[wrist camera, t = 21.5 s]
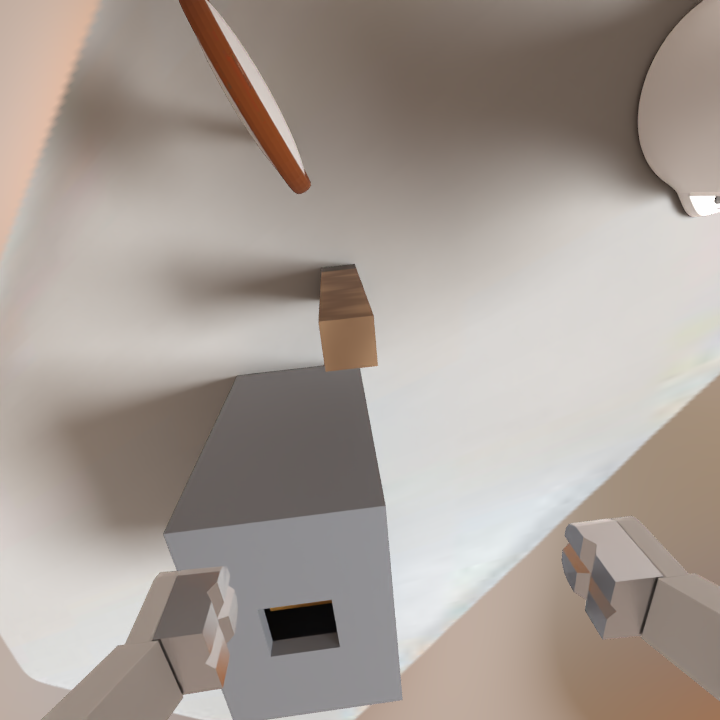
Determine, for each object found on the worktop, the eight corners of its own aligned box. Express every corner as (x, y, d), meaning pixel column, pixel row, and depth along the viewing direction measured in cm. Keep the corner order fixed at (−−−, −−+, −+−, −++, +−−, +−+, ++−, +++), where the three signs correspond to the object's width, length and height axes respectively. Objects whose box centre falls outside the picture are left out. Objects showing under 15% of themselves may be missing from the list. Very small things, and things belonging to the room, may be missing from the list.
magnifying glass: (322, 184, 34) (318, 182, 16) (304, 195, 34) (280, 205, 16) (263, 75, 31) (172, -87, 13) (244, 87, 31) (127, -53, 13)
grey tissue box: (358, 361, 41) (385, 505, 22) (373, 502, 48) (402, 699, 29) (237, 375, 40) (163, 534, 22) (270, 515, 47) (234, 724, 29)
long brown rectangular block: (354, 264, 37) (373, 315, 22) (357, 296, 38) (377, 365, 23) (321, 267, 37) (318, 321, 22) (325, 300, 38) (325, 371, 23)
